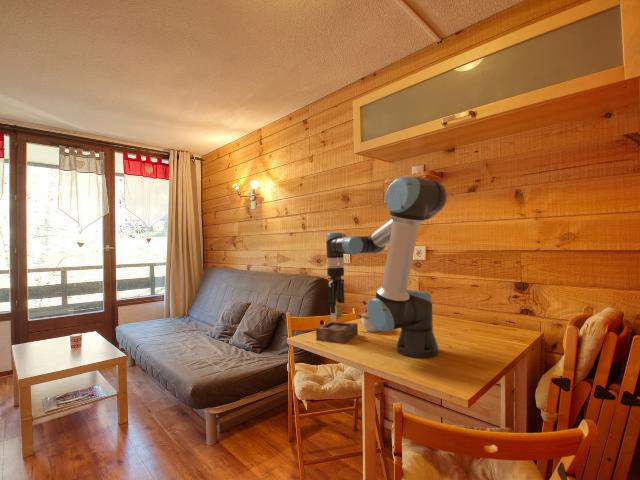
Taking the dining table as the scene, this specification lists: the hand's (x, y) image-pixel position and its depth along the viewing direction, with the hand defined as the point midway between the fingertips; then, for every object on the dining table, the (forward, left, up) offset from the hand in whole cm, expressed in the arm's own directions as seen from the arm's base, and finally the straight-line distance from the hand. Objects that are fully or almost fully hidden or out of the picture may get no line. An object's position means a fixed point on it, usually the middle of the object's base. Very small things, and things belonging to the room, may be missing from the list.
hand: (336, 318), depth 146 cm
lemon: (0, 0, 0) cm, 0 cm away
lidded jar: (-11, -17, -9) cm, 22 cm away
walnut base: (0, 0, -8) cm, 8 cm away
